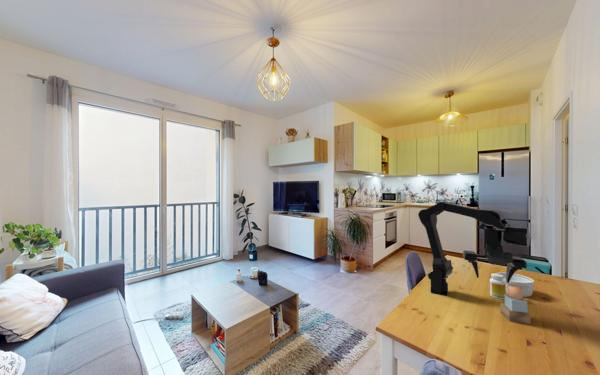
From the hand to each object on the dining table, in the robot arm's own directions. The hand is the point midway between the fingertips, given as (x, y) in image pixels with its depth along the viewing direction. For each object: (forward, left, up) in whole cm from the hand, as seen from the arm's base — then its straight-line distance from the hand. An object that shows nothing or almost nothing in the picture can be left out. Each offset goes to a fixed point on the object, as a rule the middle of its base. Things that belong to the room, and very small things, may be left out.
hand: (492, 280), depth 89 cm
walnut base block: (+6, -4, -12) cm, 14 cm away
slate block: (+6, -4, -8) cm, 11 cm away
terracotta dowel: (+6, -4, -4) cm, 8 cm away
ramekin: (+13, +26, -12) cm, 31 cm away
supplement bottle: (+5, +16, -12) cm, 20 cm away
